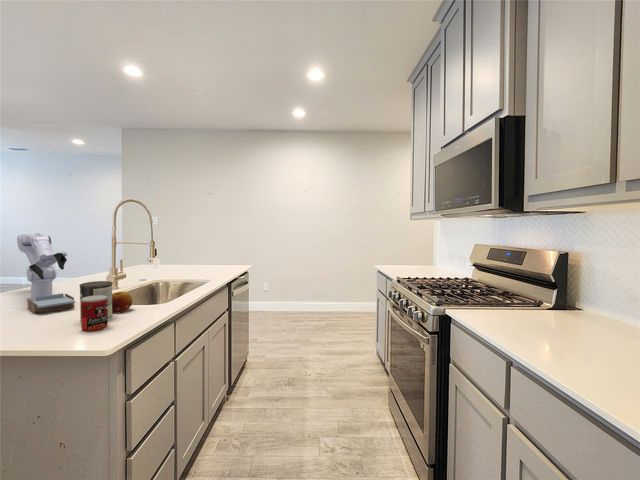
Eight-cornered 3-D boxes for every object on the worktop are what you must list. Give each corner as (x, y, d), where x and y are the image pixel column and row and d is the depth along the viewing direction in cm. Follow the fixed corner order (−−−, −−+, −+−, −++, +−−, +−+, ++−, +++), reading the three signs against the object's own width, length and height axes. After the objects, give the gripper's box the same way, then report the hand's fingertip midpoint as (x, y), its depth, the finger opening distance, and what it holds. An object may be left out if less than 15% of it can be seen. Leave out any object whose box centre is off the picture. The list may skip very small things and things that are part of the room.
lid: (31, 303, 131) (31, 297, 131) (66, 298, 140) (66, 292, 140) (38, 308, 123) (38, 302, 123) (74, 302, 133) (74, 297, 133)
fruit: (103, 315, 126) (102, 295, 126) (108, 309, 134) (108, 291, 134) (130, 313, 130) (130, 294, 129) (134, 307, 138) (134, 289, 138)
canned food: (87, 333, 105) (86, 301, 105) (77, 328, 109) (76, 298, 109) (112, 327, 112) (111, 297, 111) (101, 323, 116) (101, 294, 115)
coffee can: (76, 324, 114) (75, 286, 113) (84, 317, 123) (83, 281, 122) (110, 321, 118) (109, 285, 117) (115, 314, 127) (114, 280, 127)
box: (27, 308, 133) (27, 298, 132) (65, 302, 143) (65, 293, 143) (34, 314, 125) (34, 303, 125) (74, 307, 136) (73, 297, 136)
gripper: (20, 256, 135) (25, 276, 128) (57, 240, 141) (64, 258, 134) (31, 266, 140) (37, 285, 133) (67, 250, 146) (74, 268, 139)
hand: (51, 272), depth 134 cm, fingers open, 7 cm apart
